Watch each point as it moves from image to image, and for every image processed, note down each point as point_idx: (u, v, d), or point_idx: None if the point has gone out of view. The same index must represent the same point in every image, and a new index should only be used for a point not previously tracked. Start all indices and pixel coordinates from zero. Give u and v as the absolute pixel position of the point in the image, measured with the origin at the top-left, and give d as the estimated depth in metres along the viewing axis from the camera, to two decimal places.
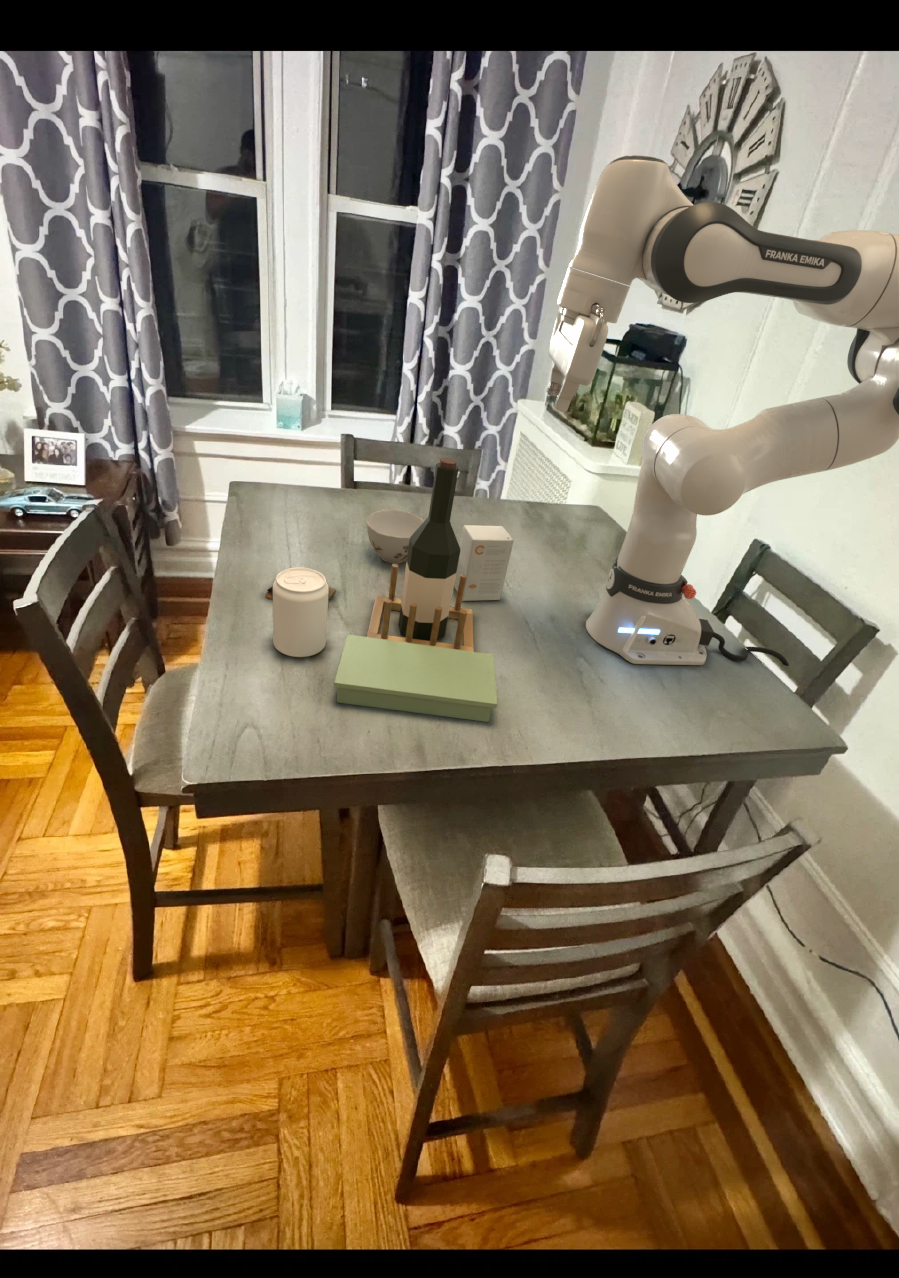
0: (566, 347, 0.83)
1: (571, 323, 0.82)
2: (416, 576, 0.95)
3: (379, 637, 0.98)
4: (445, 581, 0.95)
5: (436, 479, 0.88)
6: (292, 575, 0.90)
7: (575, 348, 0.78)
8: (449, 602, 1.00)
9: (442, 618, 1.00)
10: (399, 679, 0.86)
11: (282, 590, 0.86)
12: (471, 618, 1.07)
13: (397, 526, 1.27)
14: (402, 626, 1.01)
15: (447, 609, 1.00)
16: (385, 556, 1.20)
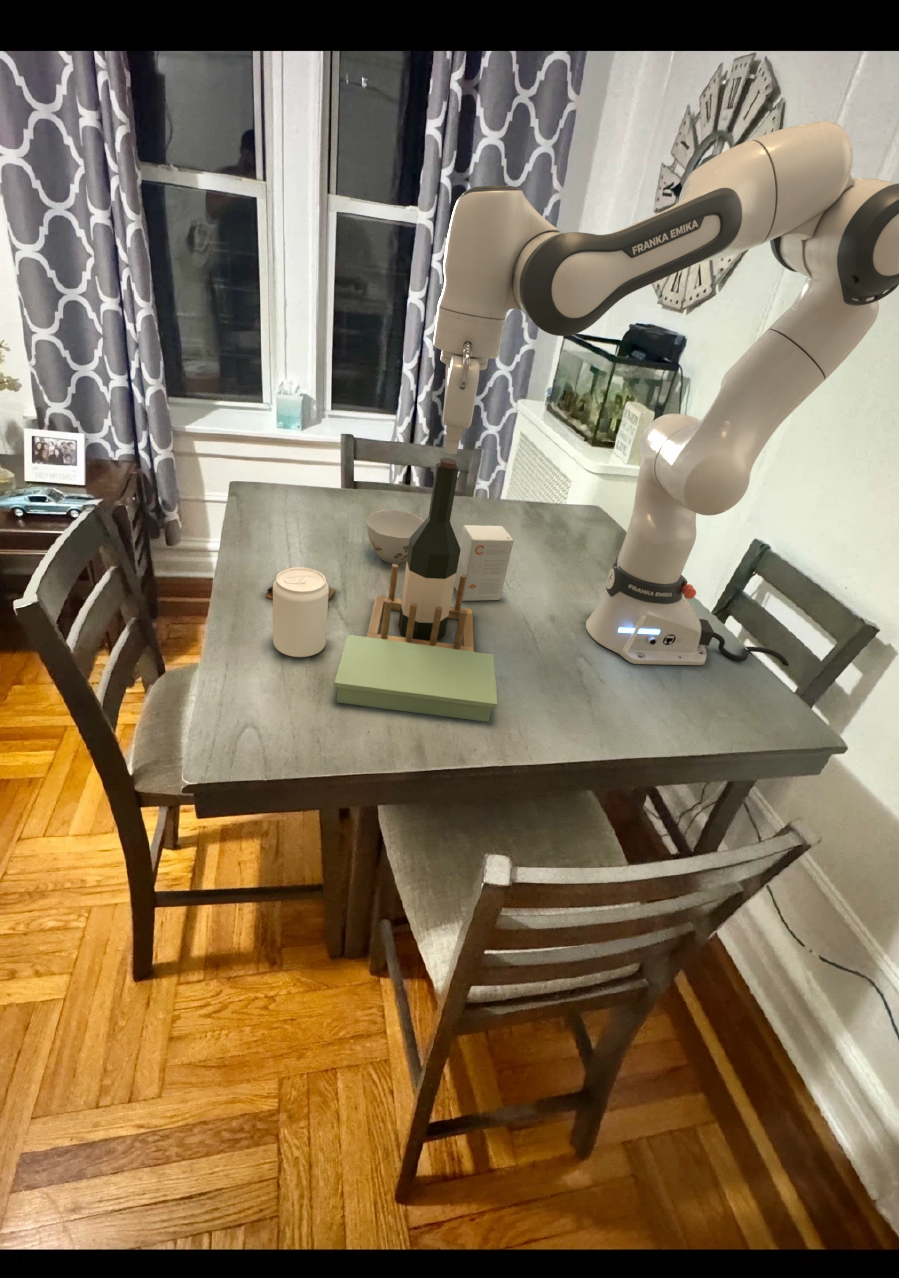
0: None
1: (448, 363, 0.78)
2: (416, 576, 0.95)
3: (379, 637, 0.98)
4: (445, 581, 0.95)
5: (436, 479, 0.88)
6: (292, 575, 0.90)
7: (447, 392, 0.74)
8: (449, 602, 1.00)
9: (442, 618, 1.00)
10: (399, 679, 0.86)
11: (282, 590, 0.86)
12: (471, 618, 1.07)
13: (397, 526, 1.27)
14: (402, 626, 1.01)
15: (447, 609, 1.00)
16: (385, 556, 1.20)
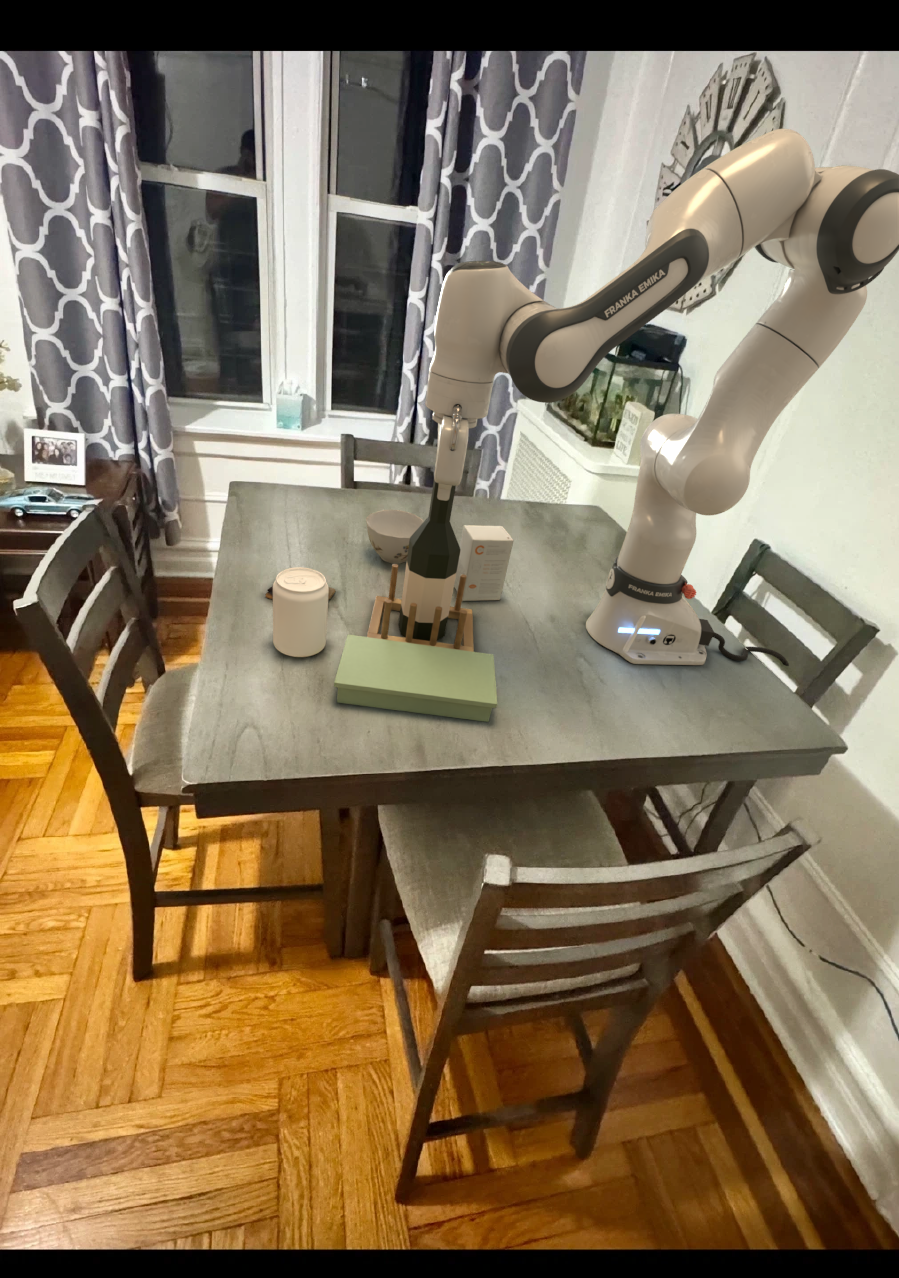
0: (438, 445, 0.83)
1: (439, 422, 0.82)
2: (416, 576, 0.95)
3: (379, 637, 0.98)
4: (445, 581, 0.95)
5: None
6: (292, 575, 0.90)
7: (438, 453, 0.78)
8: (449, 602, 1.00)
9: (442, 618, 1.00)
10: (399, 679, 0.86)
11: (282, 590, 0.86)
12: (471, 618, 1.07)
13: (397, 526, 1.27)
14: (402, 626, 1.01)
15: (447, 609, 1.00)
16: (385, 556, 1.20)
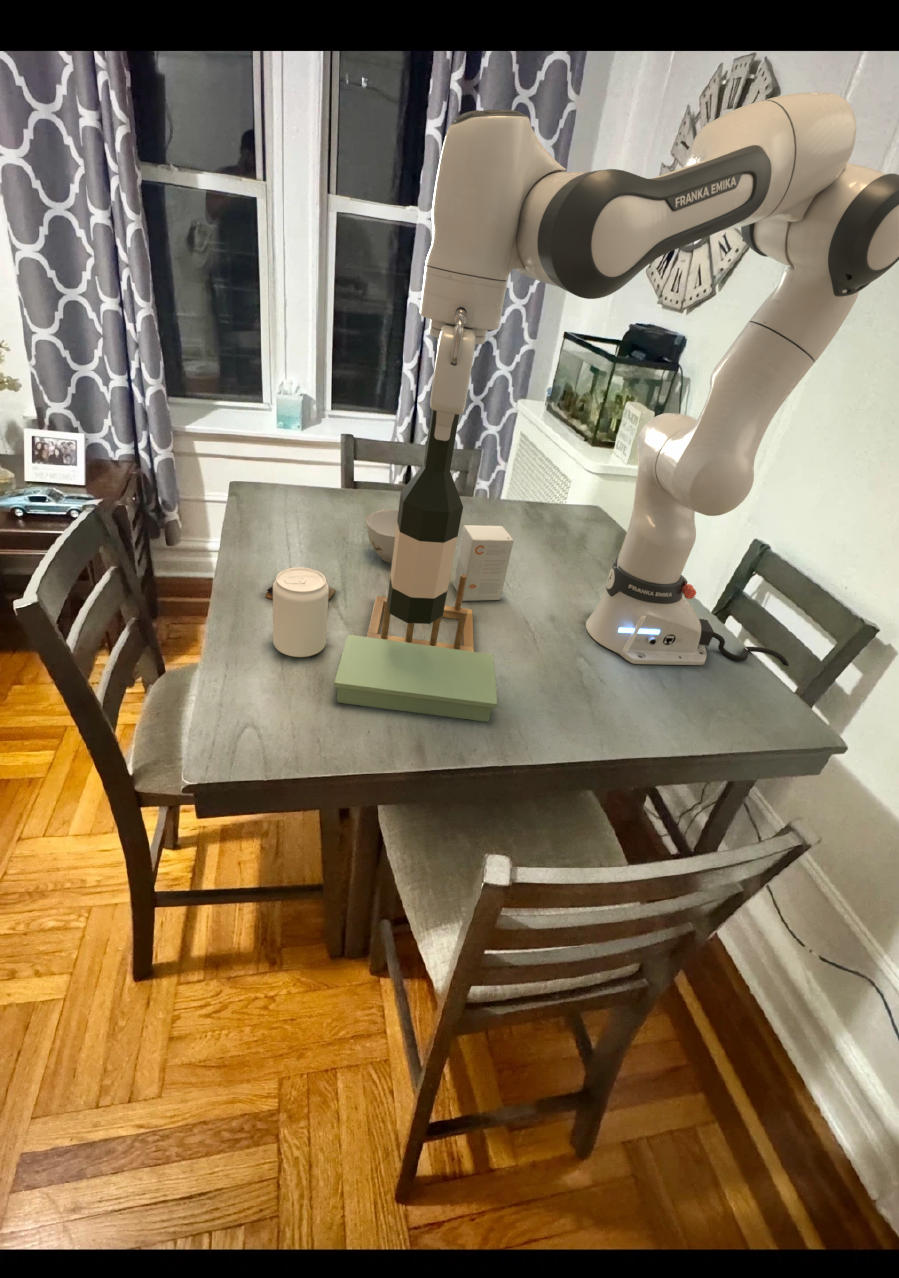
0: None
1: (438, 335, 0.64)
2: (408, 539, 0.77)
3: (379, 637, 0.98)
4: (444, 546, 0.77)
5: (433, 414, 0.70)
6: (292, 575, 0.90)
7: (435, 369, 0.60)
8: (448, 573, 0.82)
9: (440, 593, 0.82)
10: (399, 679, 0.86)
11: (282, 590, 0.86)
12: (471, 618, 1.07)
13: None
14: (391, 602, 0.83)
15: (446, 582, 0.82)
16: (385, 556, 1.20)
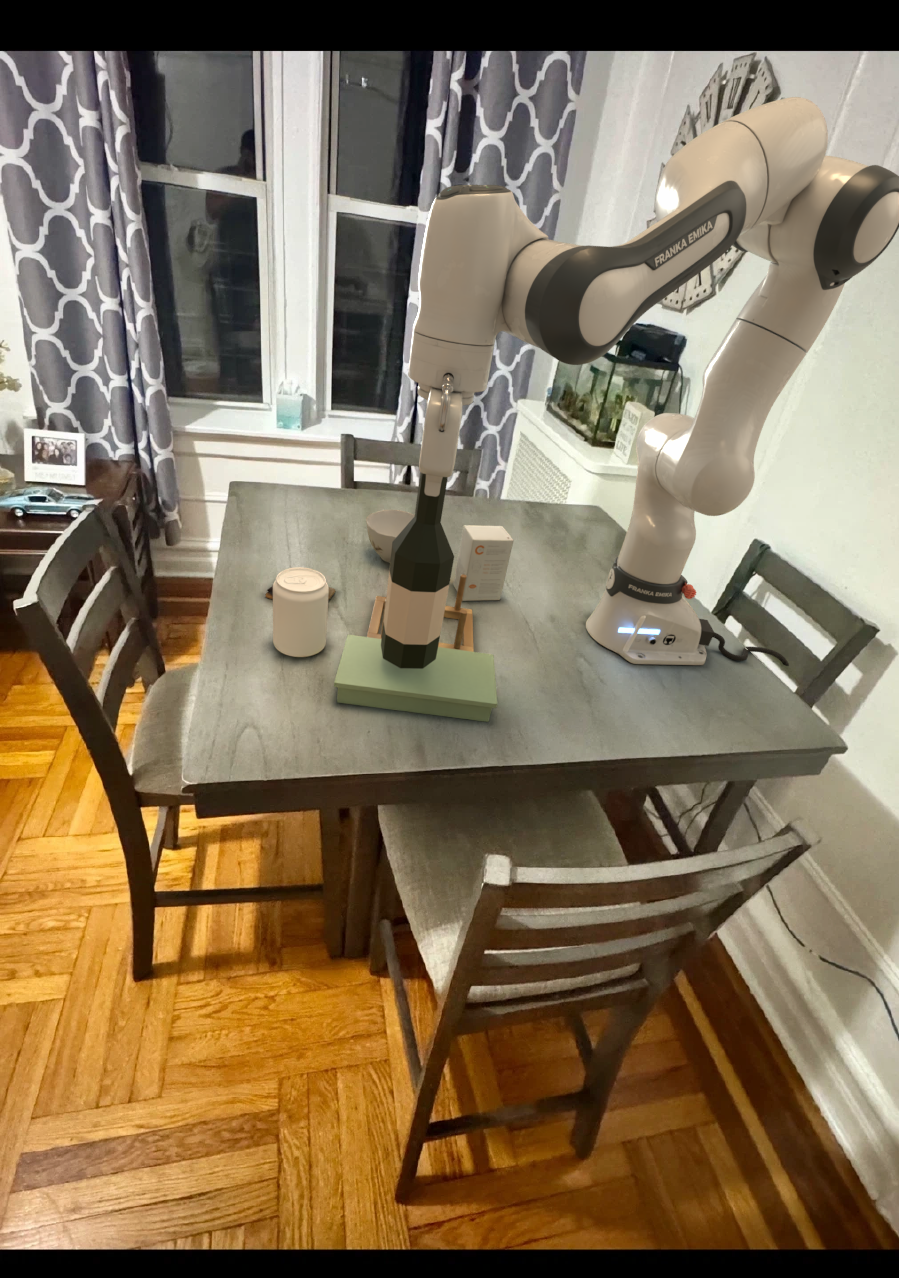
0: None
1: (426, 397, 0.65)
2: (400, 588, 0.78)
3: (379, 637, 0.98)
4: (435, 595, 0.78)
5: None
6: (292, 575, 0.90)
7: (423, 435, 0.61)
8: (441, 619, 0.83)
9: (432, 639, 0.83)
10: (399, 679, 0.86)
11: (282, 590, 0.86)
12: (471, 618, 1.07)
13: (397, 526, 1.27)
14: (384, 648, 0.84)
15: (438, 628, 0.83)
16: (385, 556, 1.20)
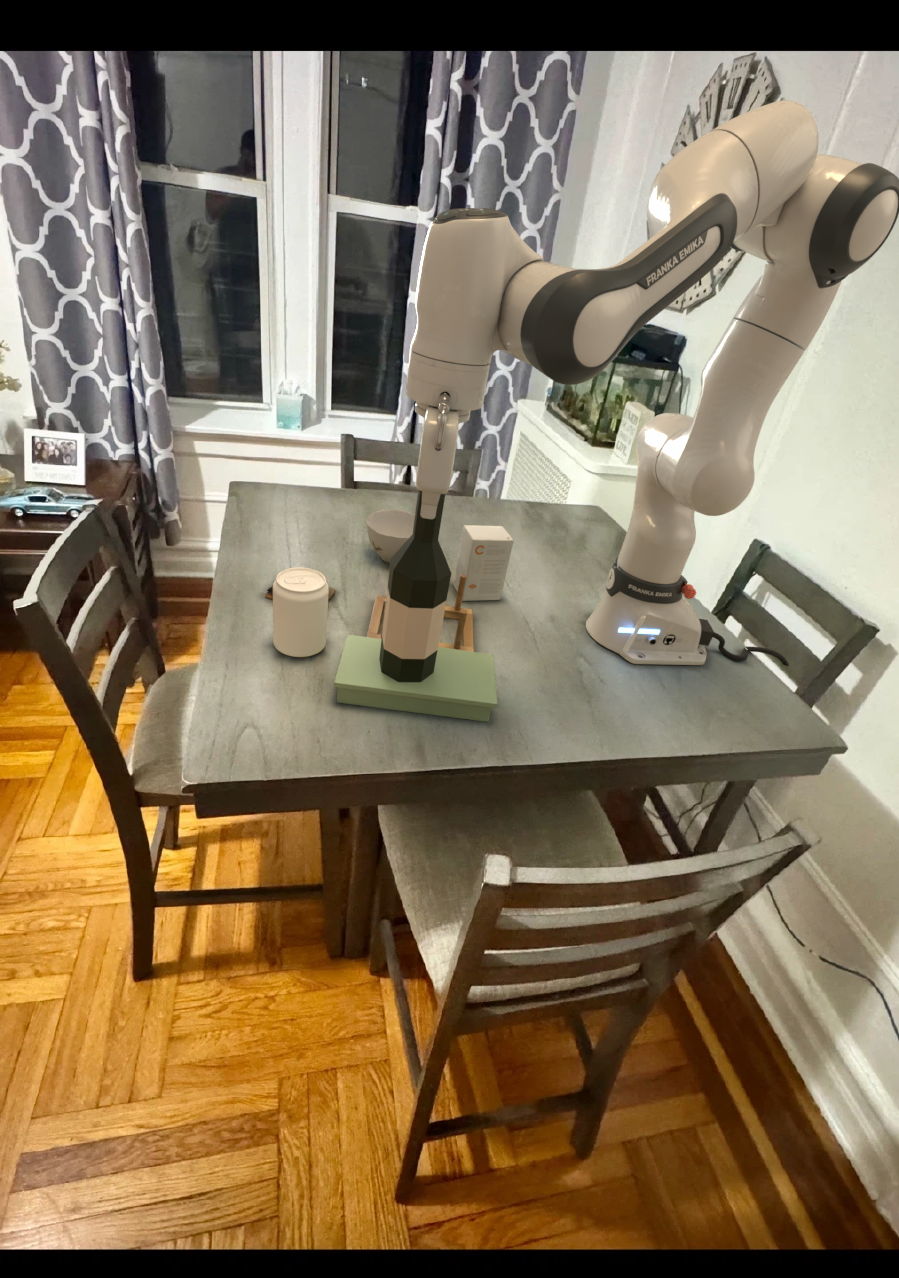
0: None
1: (423, 415, 0.66)
2: (399, 605, 0.79)
3: (379, 637, 0.98)
4: (433, 611, 0.80)
5: None
6: (292, 575, 0.90)
7: (420, 453, 0.62)
8: (438, 634, 0.84)
9: (430, 653, 0.85)
10: None
11: (282, 590, 0.86)
12: (471, 618, 1.07)
13: (397, 526, 1.27)
14: (383, 662, 0.85)
15: (436, 642, 0.85)
16: (385, 556, 1.20)
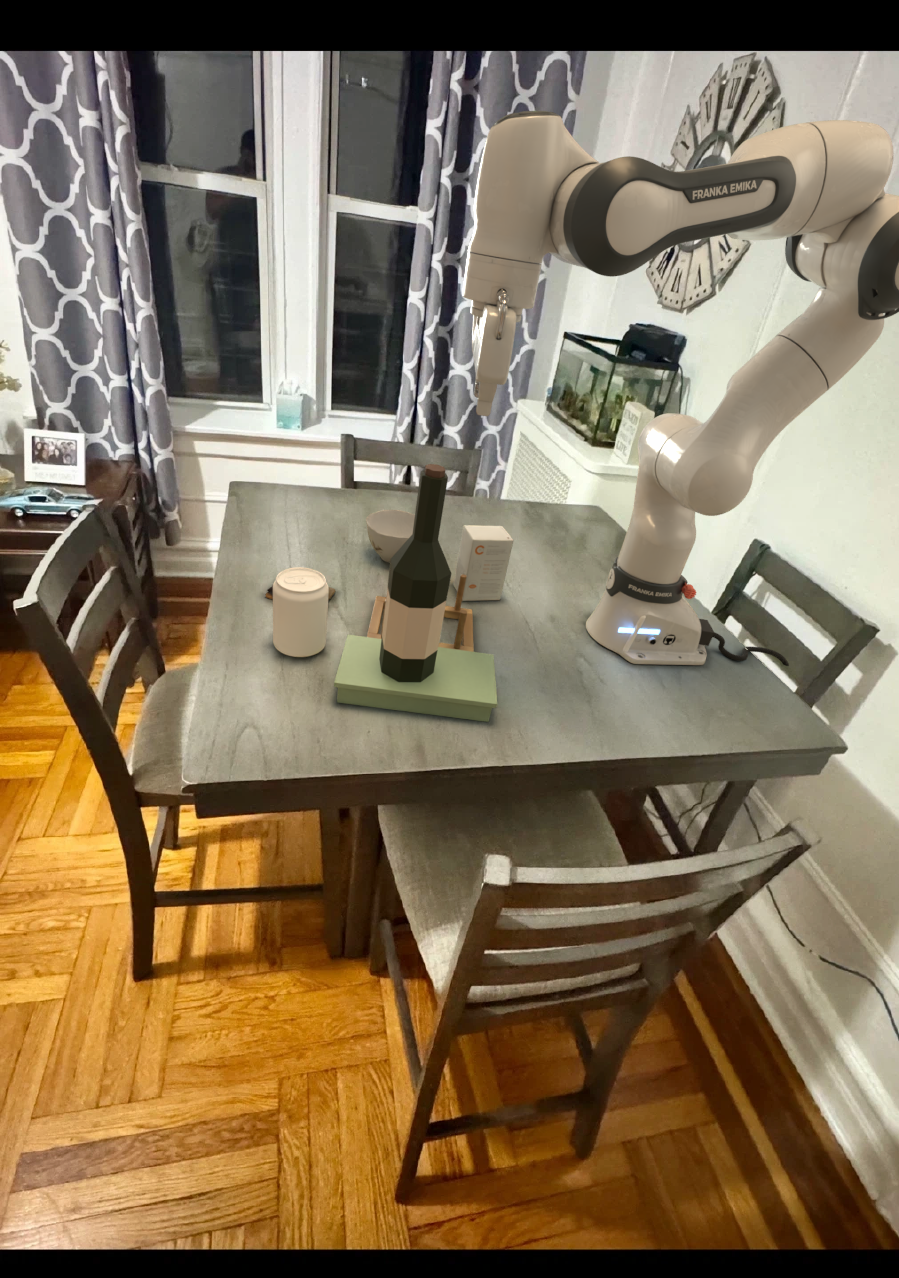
0: (478, 343, 0.73)
1: (480, 315, 0.72)
2: (399, 605, 0.79)
3: (379, 637, 0.98)
4: (433, 611, 0.80)
5: (421, 490, 0.73)
6: (292, 575, 0.90)
7: (481, 344, 0.67)
8: (438, 634, 0.84)
9: (430, 653, 0.85)
10: None
11: (282, 590, 0.86)
12: (471, 618, 1.07)
13: (397, 526, 1.27)
14: (383, 662, 0.85)
15: (436, 642, 0.85)
16: (385, 556, 1.20)
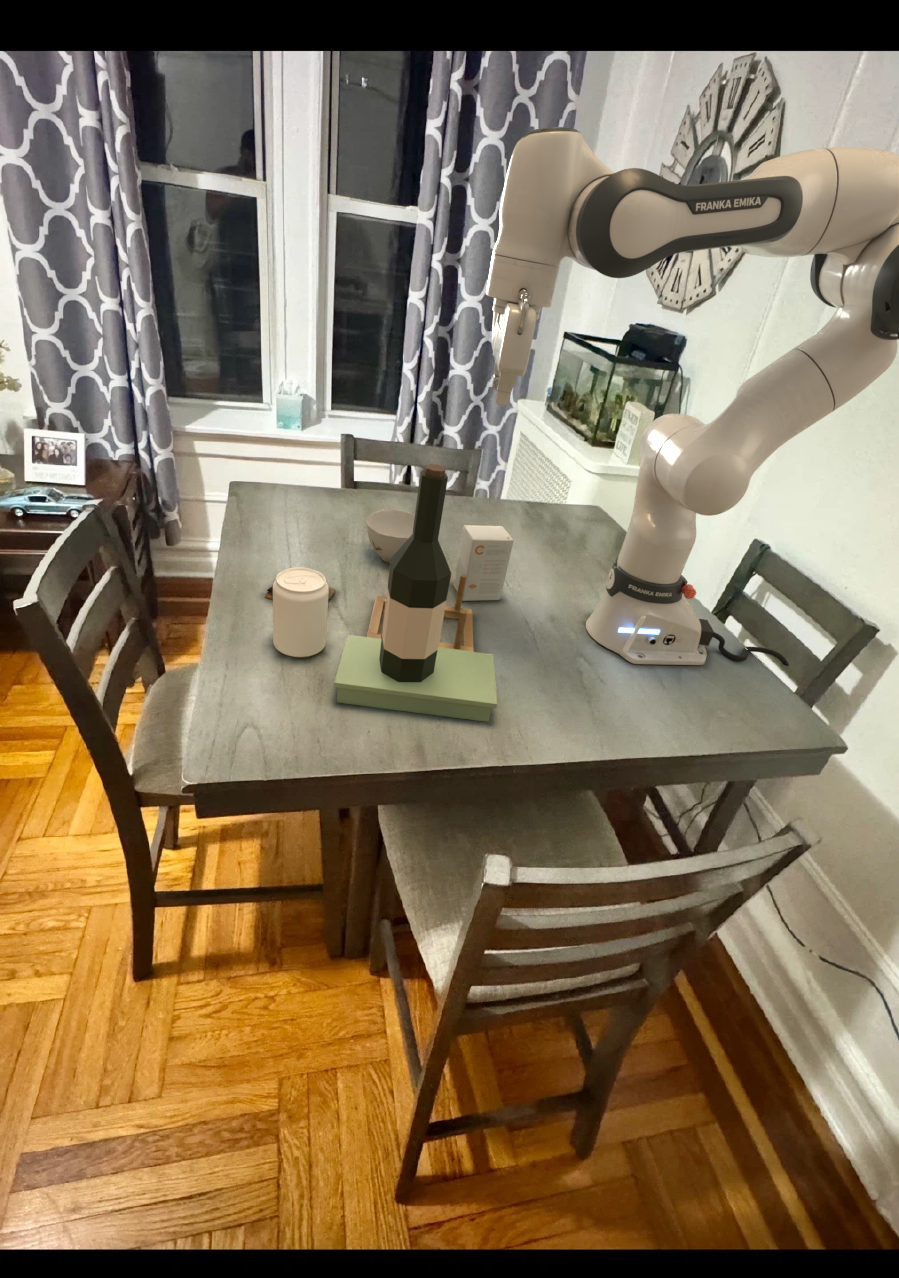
0: (499, 338, 0.79)
1: (502, 312, 0.78)
2: (399, 605, 0.79)
3: (379, 637, 0.98)
4: (433, 611, 0.80)
5: (421, 490, 0.73)
6: (292, 575, 0.90)
7: (503, 338, 0.74)
8: (438, 634, 0.84)
9: (430, 653, 0.85)
10: None
11: (282, 590, 0.86)
12: (471, 618, 1.07)
13: (397, 526, 1.27)
14: (383, 662, 0.85)
15: (436, 642, 0.85)
16: (385, 556, 1.20)
